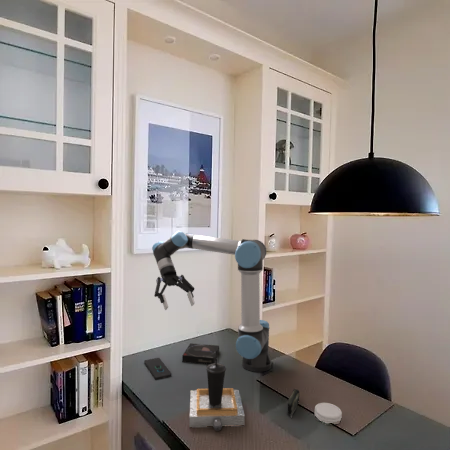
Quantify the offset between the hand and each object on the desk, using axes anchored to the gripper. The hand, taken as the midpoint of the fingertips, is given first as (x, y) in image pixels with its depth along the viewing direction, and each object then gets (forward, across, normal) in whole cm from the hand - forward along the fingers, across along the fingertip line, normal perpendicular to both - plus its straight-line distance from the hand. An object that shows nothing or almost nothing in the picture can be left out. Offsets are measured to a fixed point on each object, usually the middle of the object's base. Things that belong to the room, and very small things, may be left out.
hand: (180, 306), depth 158 cm
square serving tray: (+47, +1, 0) cm, 47 cm away
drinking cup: (+44, 0, +2) cm, 44 cm away
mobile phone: (+57, -28, +9) cm, 64 cm away
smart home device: (+15, +5, -34) cm, 37 cm away
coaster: (+65, -34, +17) cm, 76 cm away
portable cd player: (+14, -21, -35) cm, 43 cm away
